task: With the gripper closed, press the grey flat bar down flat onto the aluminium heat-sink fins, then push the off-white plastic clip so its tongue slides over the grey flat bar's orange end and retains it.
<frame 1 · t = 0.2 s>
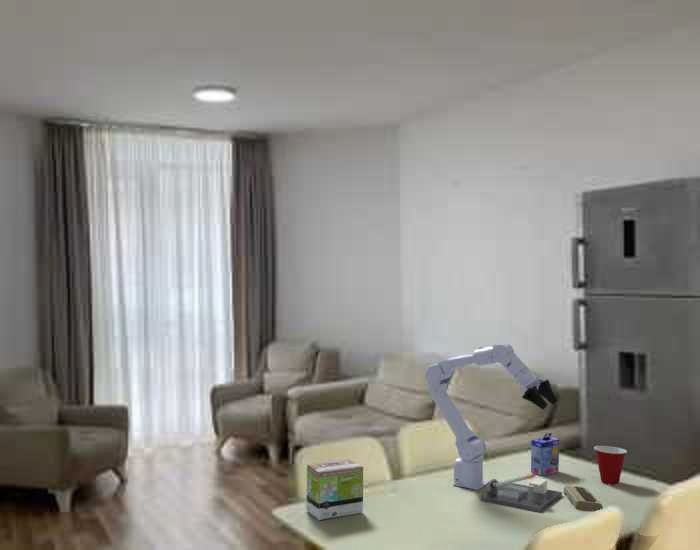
hand: (550, 404, 228), 31 cm above the table, tool tilted 45°, fingers open, 7 cm apart
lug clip: (538, 487, 232), point 3 cm above the table, slide at 0.0 cm
tea box: (334, 513, 219), on the table
computer: (582, 502, 228), on the table
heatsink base: (521, 497, 231), on the table
ink cartridge box: (545, 472, 260), on the table
grey flat bar: (513, 480, 231), point 6 cm above the table, hinge at 22.0°
plastic cup: (610, 483, 247), on the table
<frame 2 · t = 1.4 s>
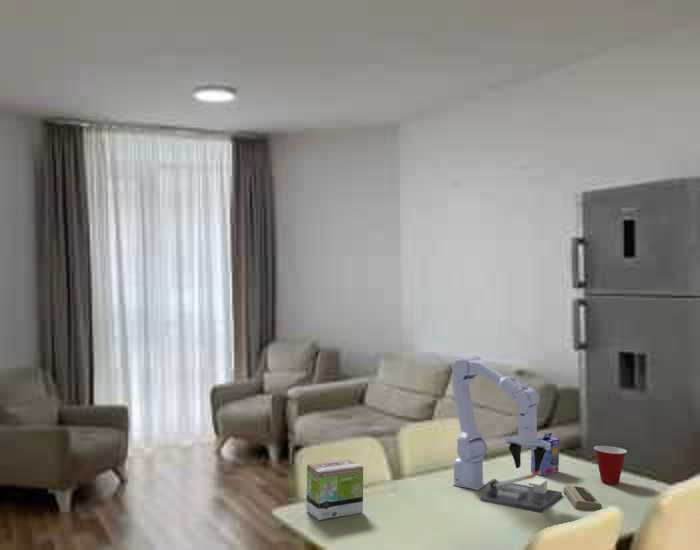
hand: (527, 468, 228), 10 cm above the table, tool pointing down, fingers open, 6 cm apart
nothing on the table moved.
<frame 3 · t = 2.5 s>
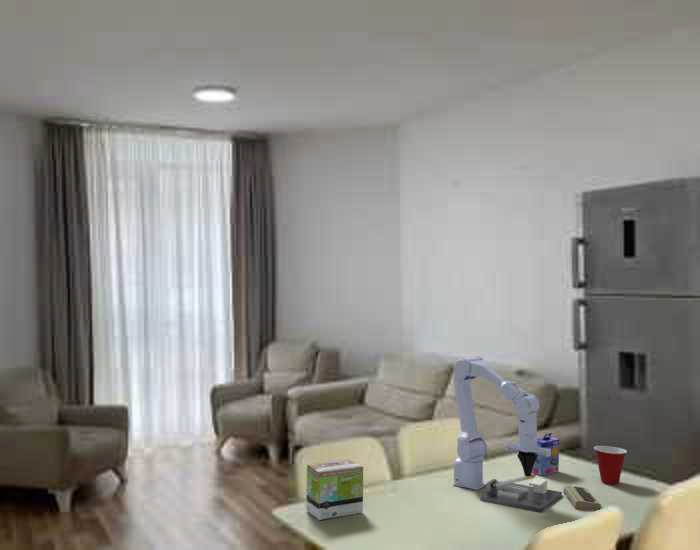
hand: (528, 475, 228), 8 cm above the table, tool pointing down, fingers closed
grey flat bar: (513, 480, 231), point 6 cm above the table, hinge at 21.3°, touching gripper
everything else where it was.
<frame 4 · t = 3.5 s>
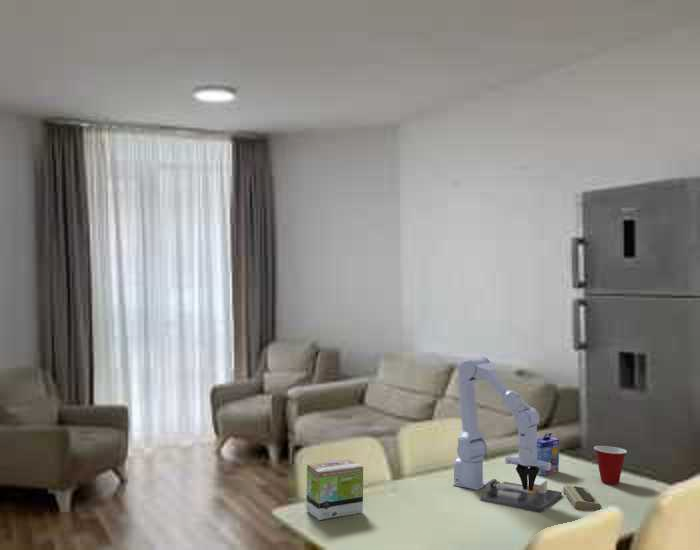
hand: (528, 489, 228), 4 cm above the table, tool pointing down, fingers closed on grey flat bar
grey flat bar: (515, 487, 230), point 4 cm above the table, hinge at 1.3°, touching gripper
everything else where it was.
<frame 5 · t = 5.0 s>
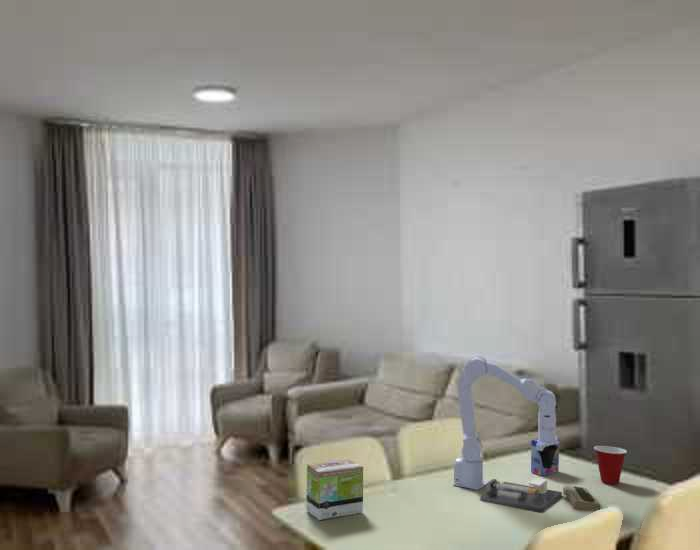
hand: (547, 467, 238), 8 cm above the table, tool pointing down, fingers closed
grey flat bar: (515, 487, 230), point 4 cm above the table, hinge at 1.3°
everything else where it was.
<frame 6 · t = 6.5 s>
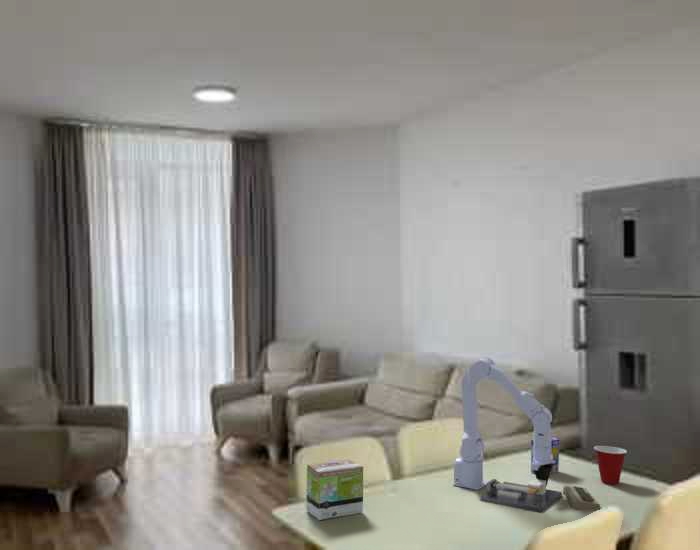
hand: (542, 486, 235), 2 cm above the table, tool pointing down, fingers closed
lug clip: (536, 488, 231), point 3 cm above the table, slide at 1.1 cm, touching gripper
everything else where it was.
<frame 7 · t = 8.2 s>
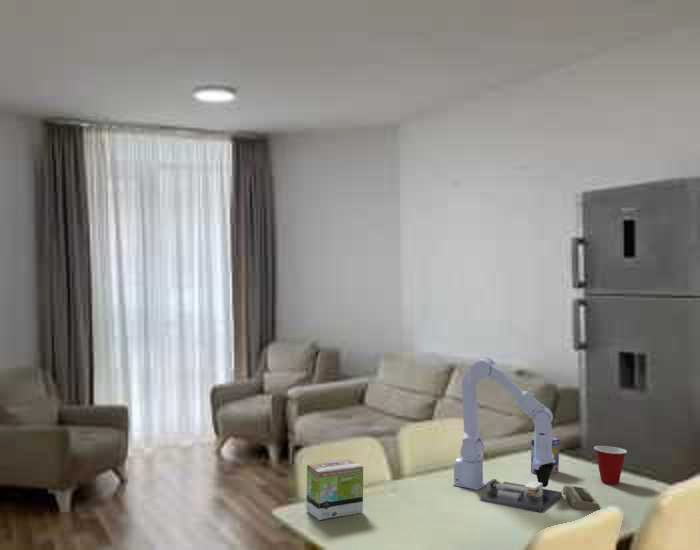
hand: (543, 486, 236), 2 cm above the table, tool pointing down, fingers closed
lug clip: (533, 490, 229), point 3 cm above the table, slide at 4.0 cm
everything else where it was.
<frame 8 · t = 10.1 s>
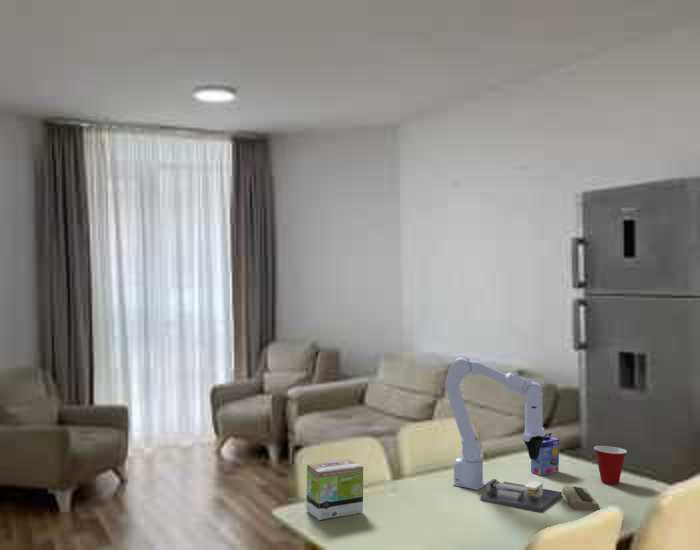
hand: (533, 458, 240), 10 cm above the table, tool pointing down, fingers closed
nothing on the table moved.
at the end: grey flat bar at +1° (first picture: +22°); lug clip slide at 4.0 cm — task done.
